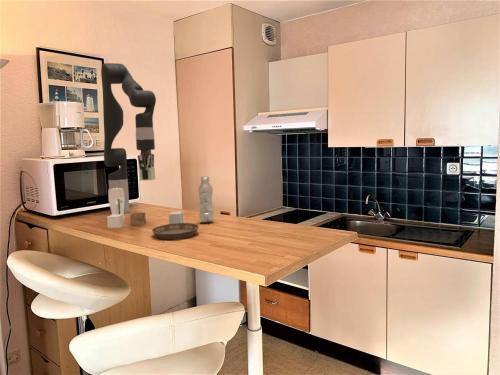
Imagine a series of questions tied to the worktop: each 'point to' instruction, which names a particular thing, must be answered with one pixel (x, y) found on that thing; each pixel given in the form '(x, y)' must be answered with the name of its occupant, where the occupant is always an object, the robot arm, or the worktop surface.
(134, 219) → the walnut block
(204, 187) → the plastic bottle
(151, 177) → the green block
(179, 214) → the grey block
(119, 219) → the white block
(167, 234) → the plant saucer
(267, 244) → the worktop surface
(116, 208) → the beer glass
